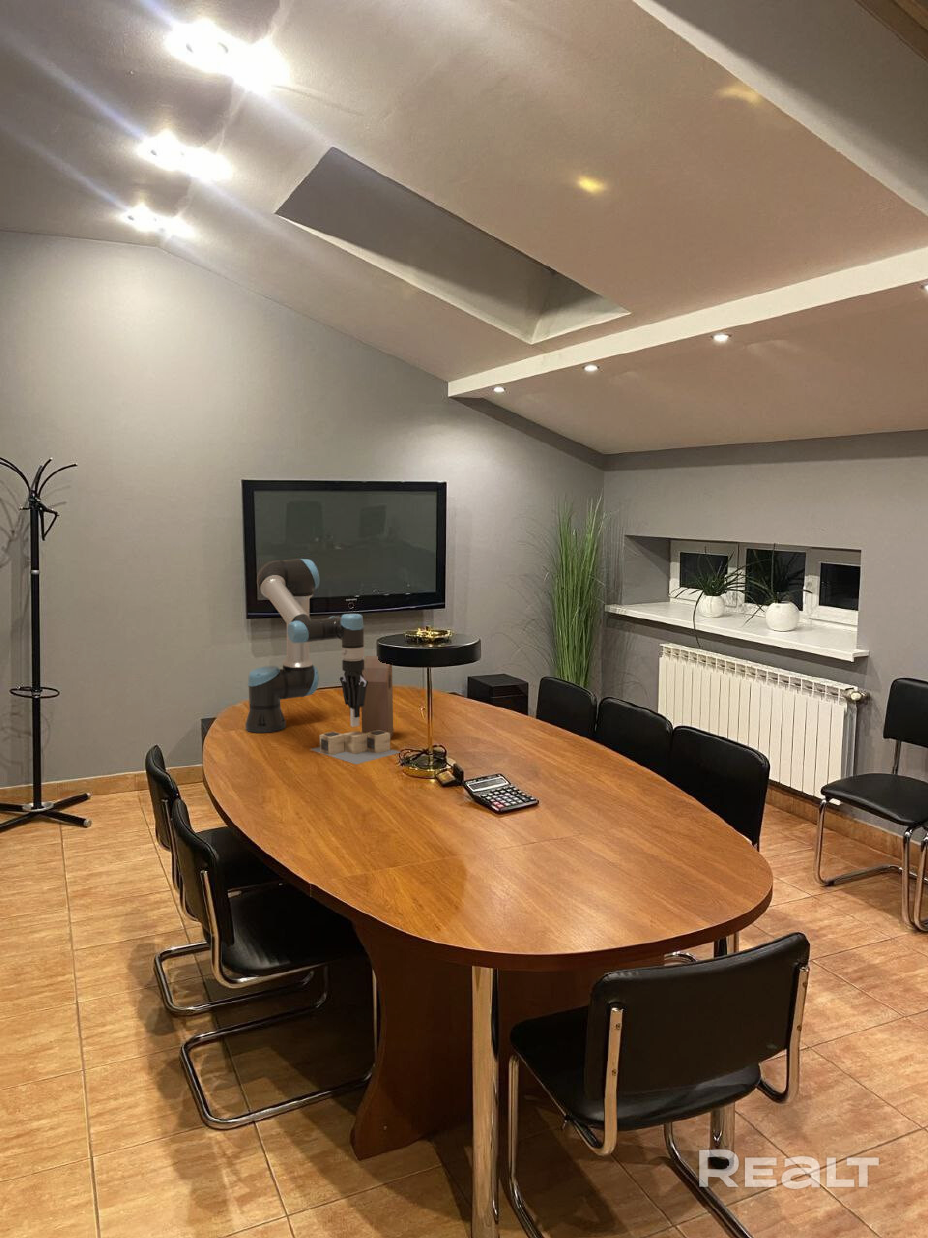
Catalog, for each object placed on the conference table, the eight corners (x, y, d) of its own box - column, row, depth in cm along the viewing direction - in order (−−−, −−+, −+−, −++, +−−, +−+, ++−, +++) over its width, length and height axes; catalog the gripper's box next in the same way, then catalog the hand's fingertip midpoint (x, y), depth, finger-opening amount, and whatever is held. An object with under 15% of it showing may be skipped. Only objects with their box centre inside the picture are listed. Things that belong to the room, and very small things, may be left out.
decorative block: (393, 735, 346) (392, 656, 342) (388, 742, 336) (387, 661, 332) (367, 735, 347) (365, 655, 343) (362, 742, 337) (360, 660, 333)
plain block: (343, 750, 324) (342, 734, 323) (356, 747, 328) (356, 730, 327) (353, 754, 320) (353, 737, 319) (367, 750, 324) (367, 733, 323)
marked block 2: (365, 750, 324) (364, 732, 324) (379, 746, 329) (378, 729, 328) (376, 753, 320) (376, 735, 319) (390, 749, 325) (389, 732, 324)
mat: (309, 751, 326) (309, 749, 326) (354, 739, 340) (354, 738, 340) (356, 766, 308) (356, 764, 308) (401, 753, 322) (401, 752, 322)
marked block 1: (319, 751, 323) (318, 734, 322) (333, 748, 327) (333, 730, 326) (329, 755, 319) (329, 737, 318) (344, 751, 323) (343, 733, 322)
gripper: (332, 658, 321) (334, 725, 324) (356, 662, 312) (358, 731, 315) (349, 655, 326) (351, 721, 330) (373, 659, 317) (375, 727, 320)
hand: (355, 726), depth 322 cm, fingers closed
